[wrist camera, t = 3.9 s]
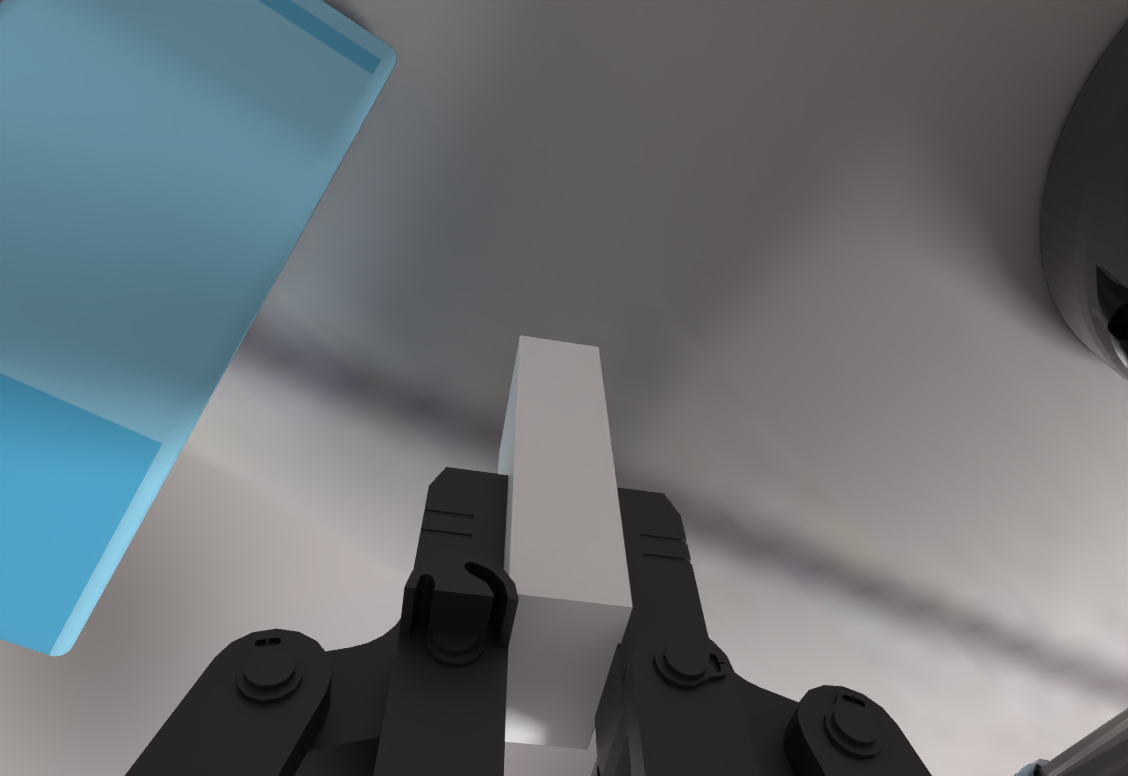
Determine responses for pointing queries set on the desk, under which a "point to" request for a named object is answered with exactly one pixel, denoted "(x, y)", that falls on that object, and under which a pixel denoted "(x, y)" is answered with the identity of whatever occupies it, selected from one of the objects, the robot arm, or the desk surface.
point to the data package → (142, 251)
